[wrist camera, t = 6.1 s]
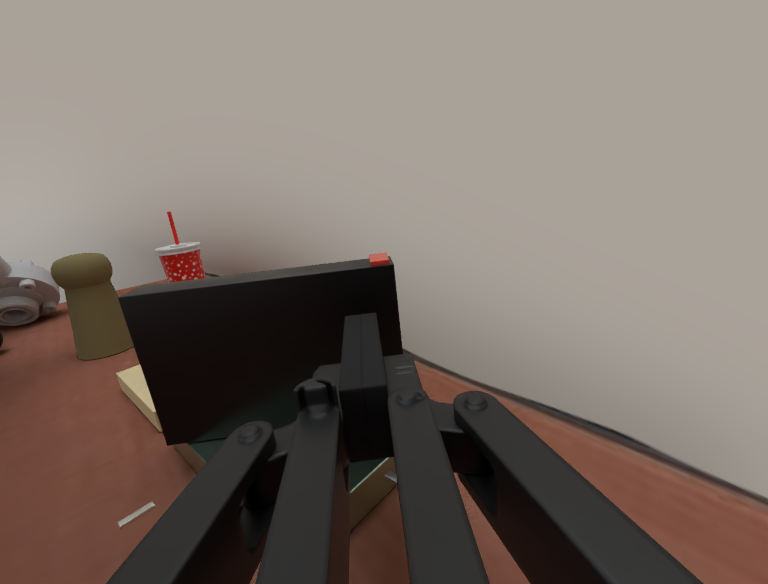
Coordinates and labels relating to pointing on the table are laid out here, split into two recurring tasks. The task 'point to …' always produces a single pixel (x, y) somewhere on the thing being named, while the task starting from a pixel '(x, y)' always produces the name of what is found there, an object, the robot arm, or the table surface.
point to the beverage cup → (181, 259)
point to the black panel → (250, 340)
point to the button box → (138, 392)
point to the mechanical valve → (25, 293)
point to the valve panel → (365, 480)
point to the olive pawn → (92, 305)
